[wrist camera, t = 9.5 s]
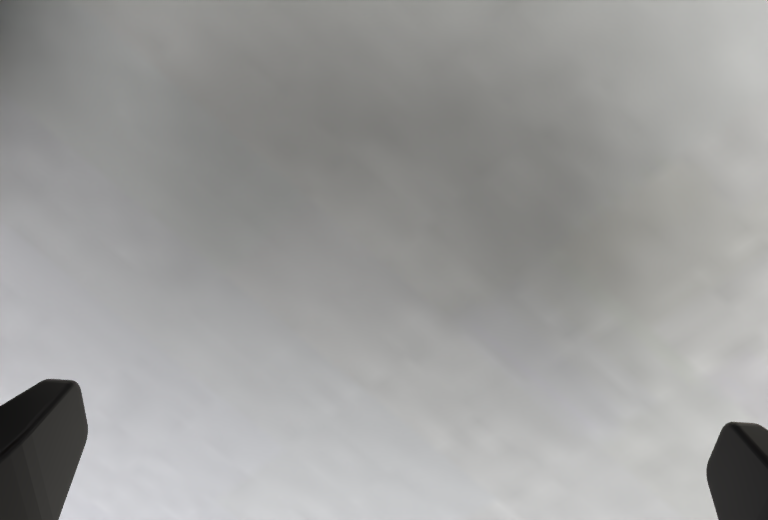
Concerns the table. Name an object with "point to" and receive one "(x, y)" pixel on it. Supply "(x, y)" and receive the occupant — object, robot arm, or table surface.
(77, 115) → the table surface
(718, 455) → the robot arm
